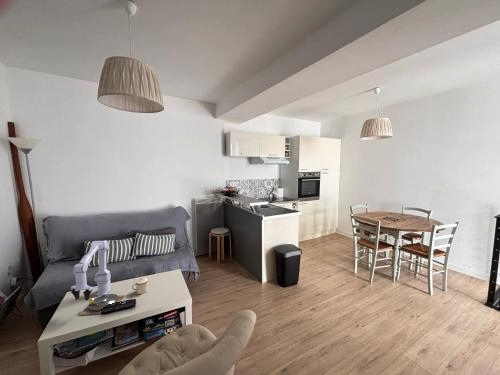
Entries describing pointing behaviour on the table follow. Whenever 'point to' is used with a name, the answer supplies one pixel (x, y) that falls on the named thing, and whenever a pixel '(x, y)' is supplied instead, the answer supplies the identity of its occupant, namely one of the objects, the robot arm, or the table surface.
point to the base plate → (89, 312)
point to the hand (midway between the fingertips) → (82, 299)
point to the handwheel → (101, 301)
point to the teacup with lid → (141, 286)
